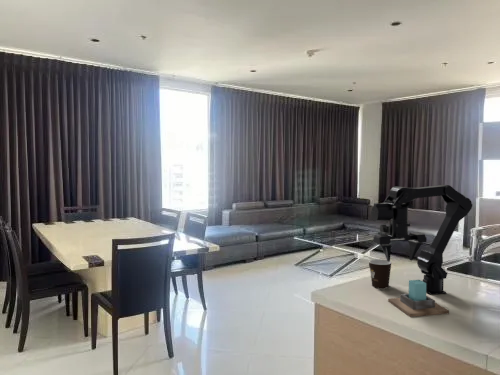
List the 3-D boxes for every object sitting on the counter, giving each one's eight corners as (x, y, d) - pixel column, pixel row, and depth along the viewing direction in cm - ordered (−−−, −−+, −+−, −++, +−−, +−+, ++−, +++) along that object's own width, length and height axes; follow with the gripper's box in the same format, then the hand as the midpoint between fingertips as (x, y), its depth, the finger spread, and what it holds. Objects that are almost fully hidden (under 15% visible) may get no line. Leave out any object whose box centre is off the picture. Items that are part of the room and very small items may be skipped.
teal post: (419, 301, 133) (419, 279, 132) (426, 306, 129) (426, 283, 128) (408, 302, 132) (408, 280, 132) (415, 306, 128) (415, 284, 128)
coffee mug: (393, 289, 149) (393, 265, 148) (370, 288, 150) (370, 264, 150) (388, 280, 160) (388, 257, 159) (367, 279, 162) (367, 257, 161)
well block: (423, 298, 139) (423, 289, 138) (448, 313, 125) (449, 303, 125) (388, 301, 137) (388, 292, 136) (409, 316, 123) (409, 306, 123)
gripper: (410, 216, 151) (410, 254, 152) (366, 218, 149) (367, 257, 150) (427, 220, 140) (427, 261, 141) (380, 222, 138) (380, 264, 139)
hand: (399, 260), depth 143 cm, fingers open, 9 cm apart
